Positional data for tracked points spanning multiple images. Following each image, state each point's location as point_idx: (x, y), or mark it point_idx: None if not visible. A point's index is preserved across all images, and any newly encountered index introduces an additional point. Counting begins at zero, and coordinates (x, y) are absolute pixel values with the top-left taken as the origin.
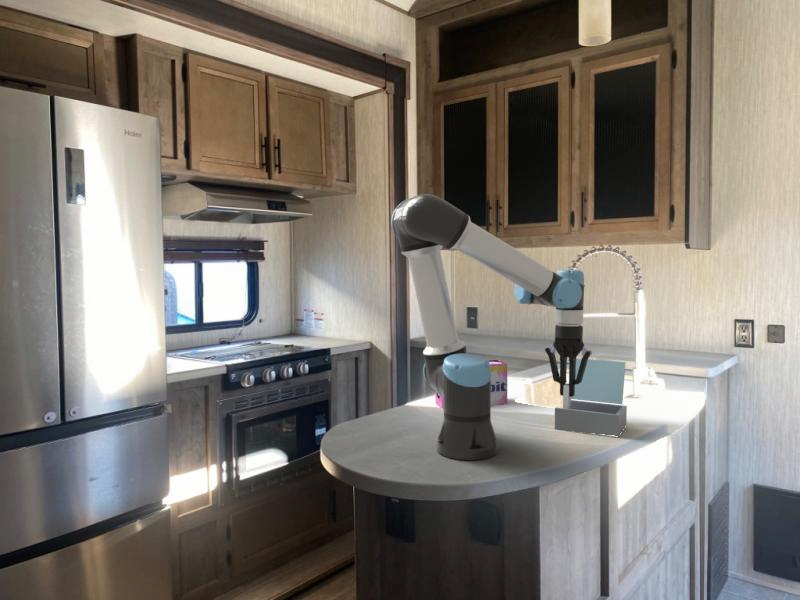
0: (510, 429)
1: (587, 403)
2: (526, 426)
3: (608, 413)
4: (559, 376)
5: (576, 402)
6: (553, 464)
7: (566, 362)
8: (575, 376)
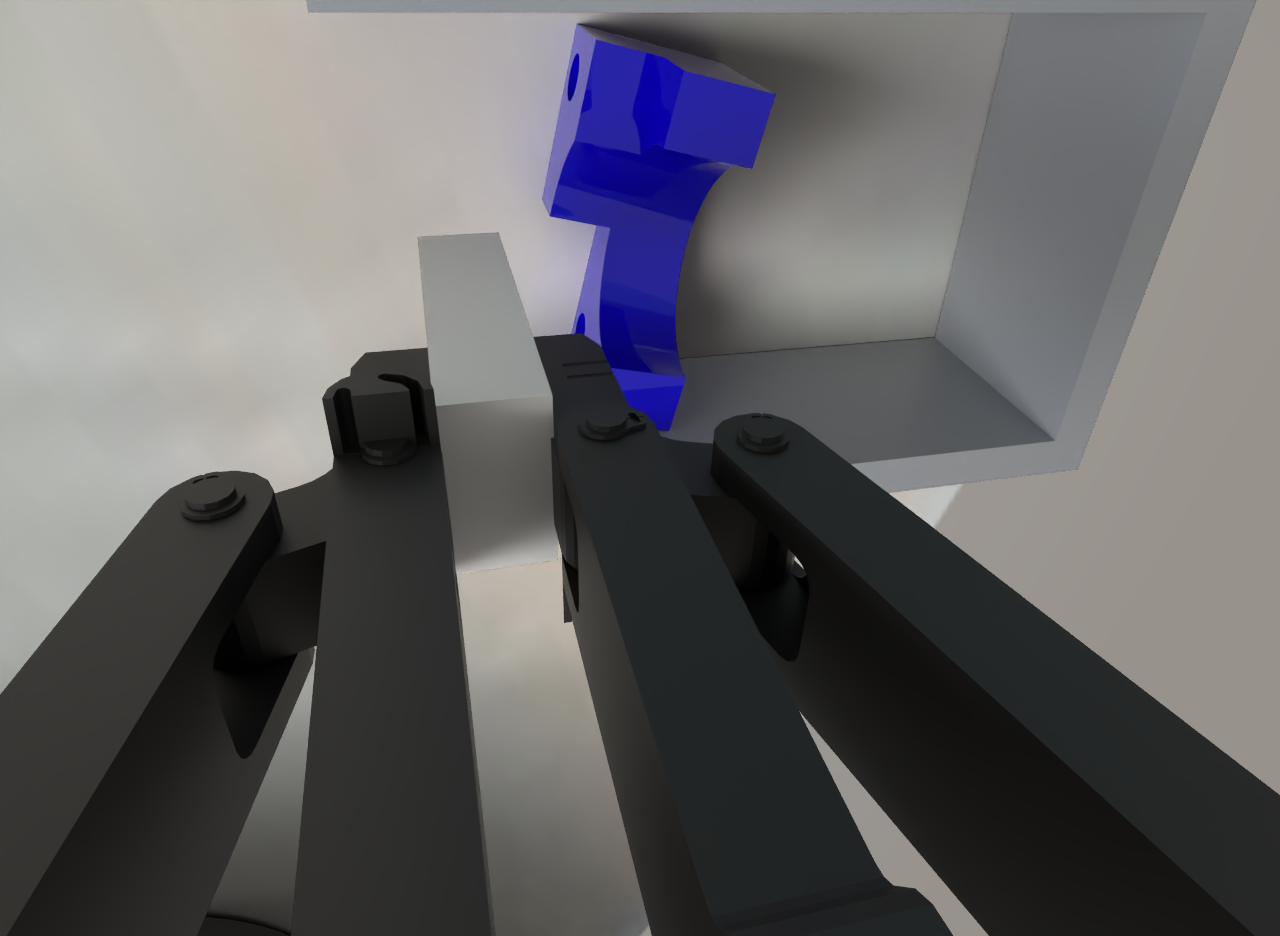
0: (40, 619)
1: (715, 8)
2: (97, 467)
3: (988, 451)
4: (255, 533)
5: (529, 12)
6: (643, 903)
7: (488, 894)
8: (691, 497)
